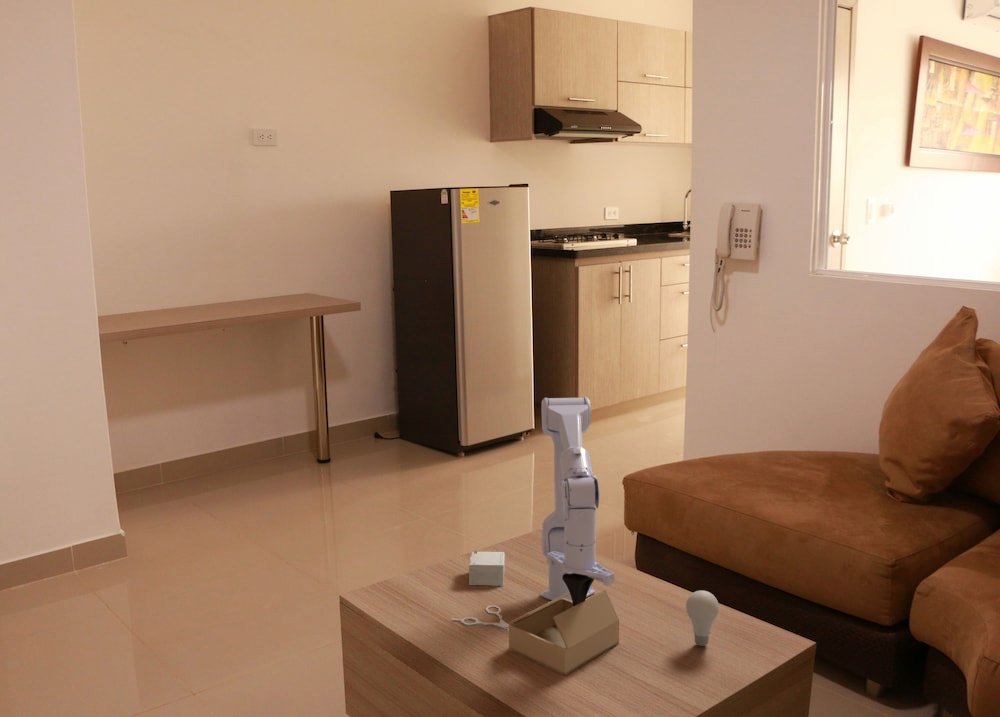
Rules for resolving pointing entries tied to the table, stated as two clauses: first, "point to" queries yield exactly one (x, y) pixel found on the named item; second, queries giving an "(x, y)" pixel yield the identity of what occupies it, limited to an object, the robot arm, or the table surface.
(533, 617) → the carton
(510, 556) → the table surface
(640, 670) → the table surface
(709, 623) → the lightbulb
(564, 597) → the flap
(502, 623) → the scissors
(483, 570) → the small box
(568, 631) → the flap
